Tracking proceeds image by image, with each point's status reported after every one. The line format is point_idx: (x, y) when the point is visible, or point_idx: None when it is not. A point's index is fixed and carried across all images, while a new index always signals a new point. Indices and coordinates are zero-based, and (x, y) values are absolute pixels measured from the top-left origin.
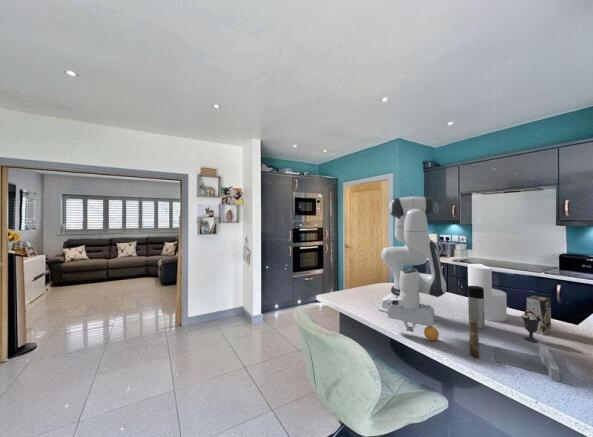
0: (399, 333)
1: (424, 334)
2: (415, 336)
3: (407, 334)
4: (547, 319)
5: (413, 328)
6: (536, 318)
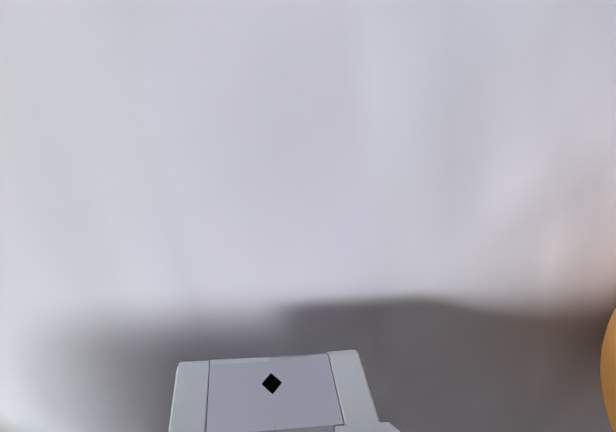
0: (40, 382)
1: (608, 417)
2: (378, 323)
3: (208, 331)
4: None
5: (370, 416)
6: None
